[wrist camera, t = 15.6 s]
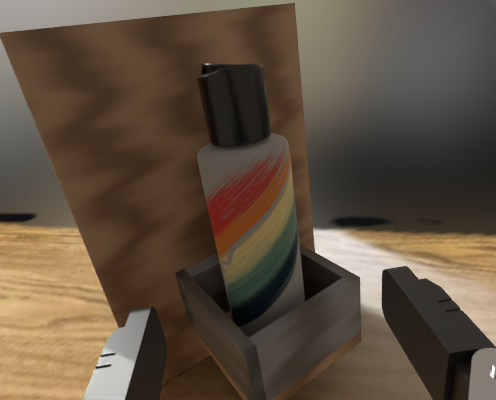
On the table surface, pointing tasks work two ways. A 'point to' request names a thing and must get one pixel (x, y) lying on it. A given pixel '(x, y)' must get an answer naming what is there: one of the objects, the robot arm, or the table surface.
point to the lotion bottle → (249, 196)
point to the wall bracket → (179, 183)
